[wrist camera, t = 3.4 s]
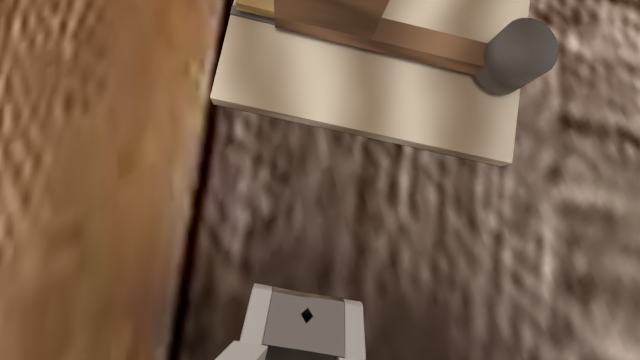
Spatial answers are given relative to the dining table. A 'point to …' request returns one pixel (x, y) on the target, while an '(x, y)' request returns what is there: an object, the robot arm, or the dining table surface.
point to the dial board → (375, 81)
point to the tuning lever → (420, 39)
